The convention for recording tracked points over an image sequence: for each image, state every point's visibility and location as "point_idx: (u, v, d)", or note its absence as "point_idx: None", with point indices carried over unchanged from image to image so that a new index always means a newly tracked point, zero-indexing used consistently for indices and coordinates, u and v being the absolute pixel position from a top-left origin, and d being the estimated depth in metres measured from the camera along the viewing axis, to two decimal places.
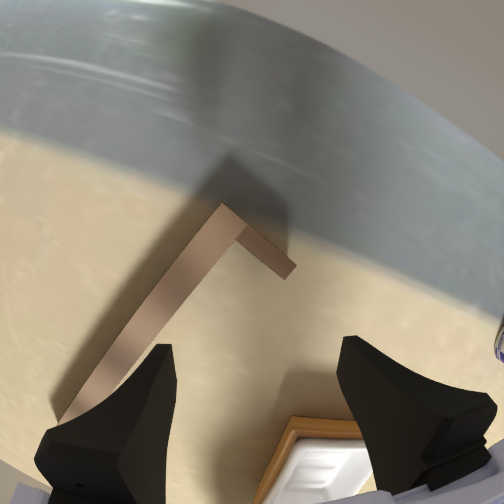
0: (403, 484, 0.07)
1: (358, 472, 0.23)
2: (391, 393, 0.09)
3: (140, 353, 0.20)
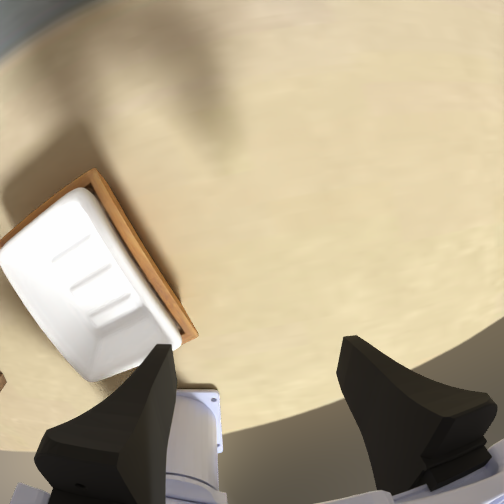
0: (403, 485, 0.07)
1: None
2: (391, 393, 0.09)
3: None
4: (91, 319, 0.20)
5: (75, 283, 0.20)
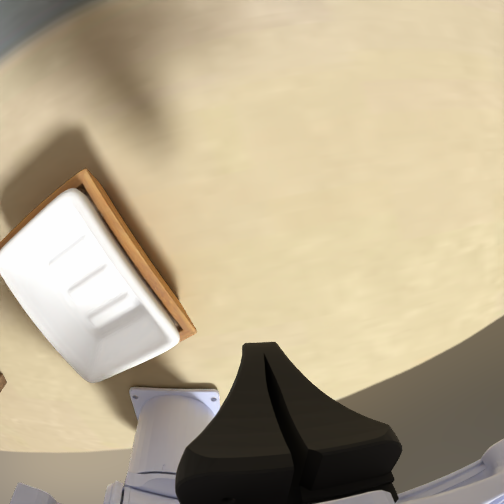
0: None
1: None
2: (283, 409, 0.08)
3: None
4: (90, 320, 0.20)
5: (72, 284, 0.20)
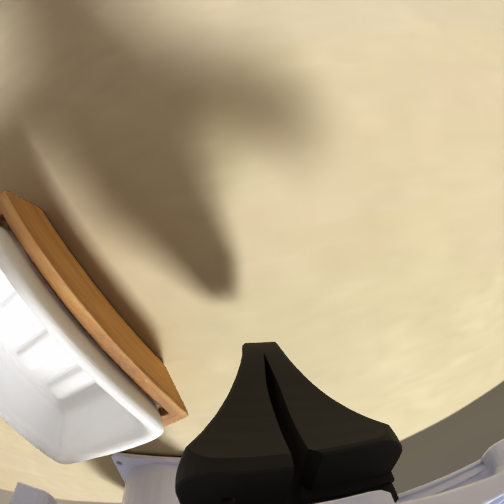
0: None
1: None
2: (283, 409, 0.08)
3: None
4: (49, 389, 0.13)
5: (20, 347, 0.13)
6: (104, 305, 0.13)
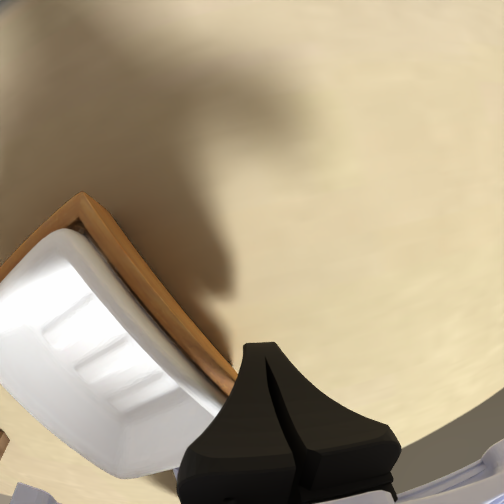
0: None
1: None
2: (283, 409, 0.08)
3: None
4: (110, 403, 0.14)
5: (80, 360, 0.13)
6: (183, 313, 0.14)
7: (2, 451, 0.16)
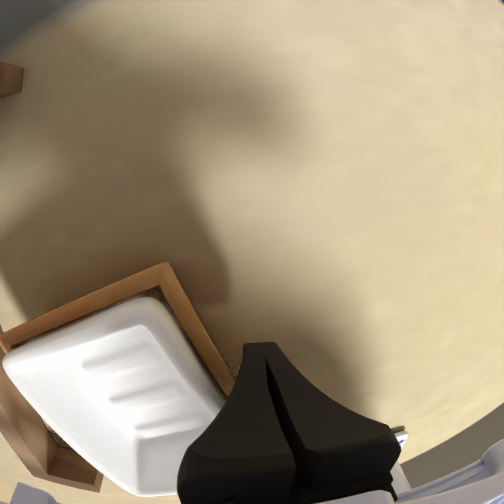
0: None
1: None
2: (282, 409, 0.08)
3: None
4: (138, 431, 0.15)
5: (118, 394, 0.14)
6: None
7: (101, 477, 0.17)
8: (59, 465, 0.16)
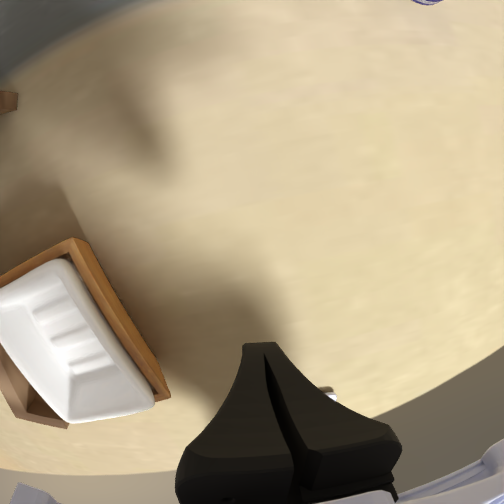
0: None
1: None
2: (283, 409, 0.08)
3: None
4: (70, 367, 0.20)
5: (55, 334, 0.19)
6: (125, 316, 0.20)
7: None
8: (37, 406, 0.21)
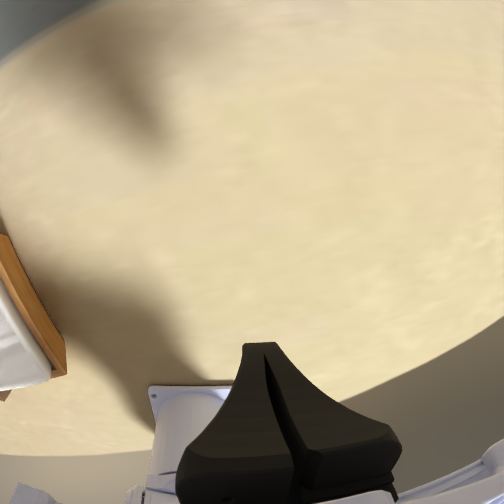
0: None
1: None
2: (283, 409, 0.08)
3: None
4: None
5: None
6: (34, 300, 0.21)
7: (8, 391, 0.23)
8: None
